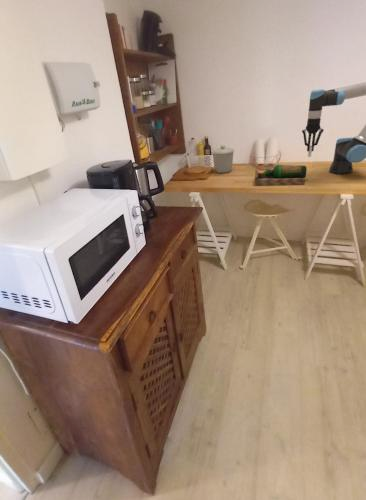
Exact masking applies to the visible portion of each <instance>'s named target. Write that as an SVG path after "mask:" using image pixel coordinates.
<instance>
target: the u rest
mask: <svg viewBox="0 0 366 500" xmlns="http://www.w3.org/2000/svg"><path fill="white" fill-rule="evenodd" d="M254 173H255V174H254V186H255V187H256V186H259V187H260V186H261V187H263V186H266V187H267V186H304V185H305V178H284V179H274V178H273V176H269V177H266V176H265V175H263V173H264V172H259V169H256V170H255V172H254Z"/></svg>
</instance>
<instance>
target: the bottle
mask: <svg viewBox="0 0 366 500" xmlns="http://www.w3.org/2000/svg"><path fill="white" fill-rule="evenodd" d="M262 173H263V175H265V176H266V177H269V176H273V178H274V179H284V178H304V179H306V178H307V166H306V165H296V164H295V165H294V164H293V165H292V164H291V165H290V164H277V165H275V166H274V167H273V169H270V168H266V169H265V170H263V172H262Z"/></svg>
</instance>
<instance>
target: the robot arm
mask: <svg viewBox="0 0 366 500" xmlns="http://www.w3.org/2000/svg"><path fill="white" fill-rule="evenodd" d="M363 96H366V81H365V82H361V83H356V84H350V85H346V86H341V87H336V88H334V89H328V90H325V89H312V91H311V92H310V96H309V105H308V115H307V121H306V123H307V124H306V127H305V128H304V129H302V130H301V132H302V135H303V141H304V145H305V146H306V152H307V156H308V158H311V157H312V152H314V149H315V146H317V145H318V143H319V141H320V138H321V136H322V133H324V129H323V128H322V127H321V119H322V118H321V117H322V110H323V107H324V108H325V107H331V106H333V107H334V106H336V107H337V106H340V105H342V104H343V103H344V102H345V100H350V99H353V98H359V97H363ZM307 133H308V137H307ZM317 133H318V134H317ZM316 135H317V137H316ZM307 138H308V140H307ZM311 138H312V139H311ZM365 159H366V124H364V126H363V128H362V129H361V131H360V132H359V133H358V134H357V136H353V137H340V138H338V139H336V142H335V147H334V154H333V161H332V162H331V164H330V166H329V169H328V172H329V173H331V174H334V175H335V174H336V175H347V174H348V175H349V174H352V173H353V170H354V167H353V164H357V163H361V162H363V161H365Z"/></svg>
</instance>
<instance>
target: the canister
mask: <svg viewBox="0 0 366 500" xmlns="http://www.w3.org/2000/svg"><path fill="white" fill-rule="evenodd" d="M211 153H212V159H213V165H214V166H213V167H214V170H215V171H216V172H217V173H218V174H227V173H229V172H231V171H232V169H233V163H234V162H233V161H234V153H235V149H234V148H232V147H226V145H225V144H221V145H220V147H217V148H215V149H213V150H212V151H211Z"/></svg>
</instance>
